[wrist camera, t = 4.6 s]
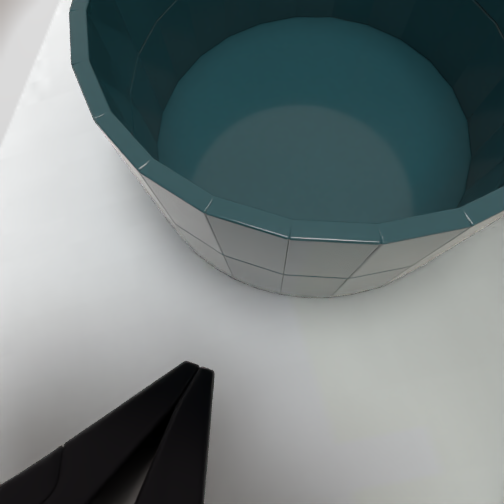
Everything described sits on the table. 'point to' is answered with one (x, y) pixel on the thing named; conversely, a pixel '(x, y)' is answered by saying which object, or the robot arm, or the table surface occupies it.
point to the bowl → (304, 128)
